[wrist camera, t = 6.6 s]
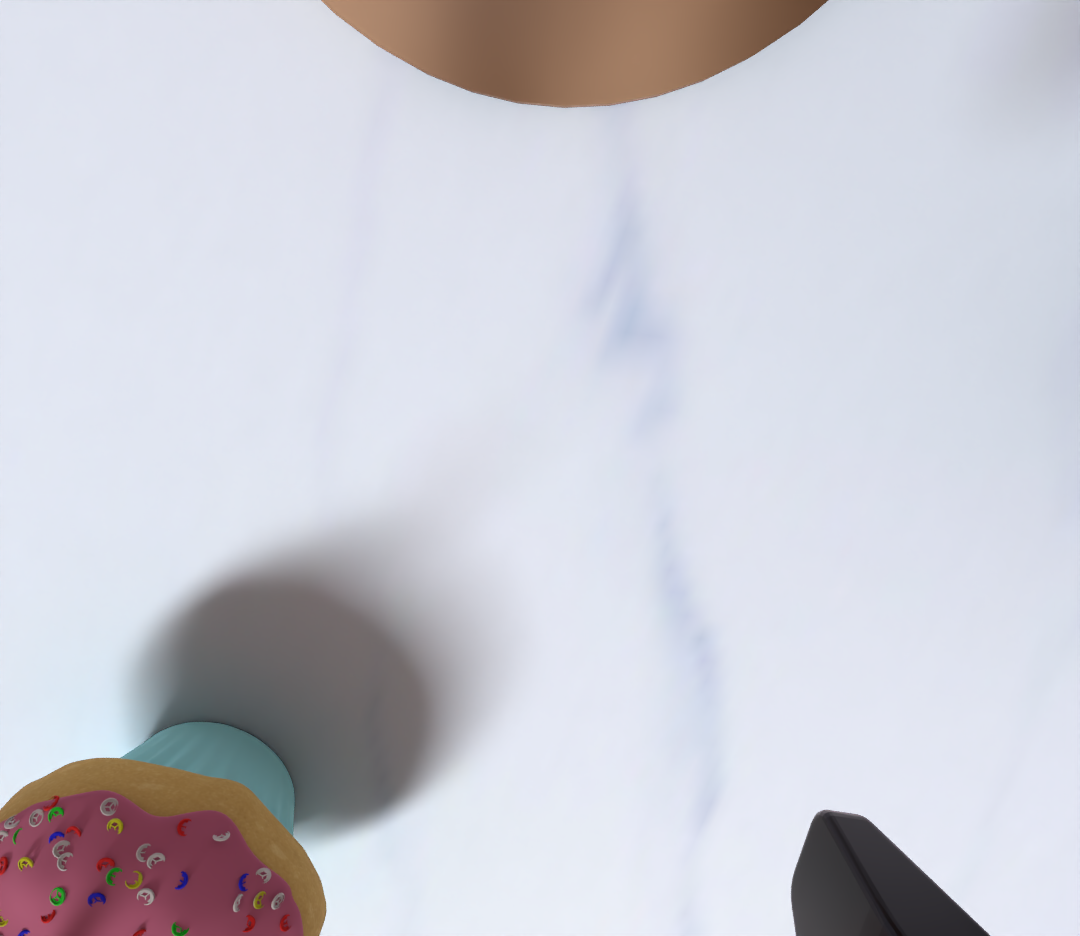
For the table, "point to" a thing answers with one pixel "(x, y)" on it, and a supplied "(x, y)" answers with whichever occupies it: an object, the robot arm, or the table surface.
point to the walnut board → (573, 43)
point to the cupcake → (160, 844)
